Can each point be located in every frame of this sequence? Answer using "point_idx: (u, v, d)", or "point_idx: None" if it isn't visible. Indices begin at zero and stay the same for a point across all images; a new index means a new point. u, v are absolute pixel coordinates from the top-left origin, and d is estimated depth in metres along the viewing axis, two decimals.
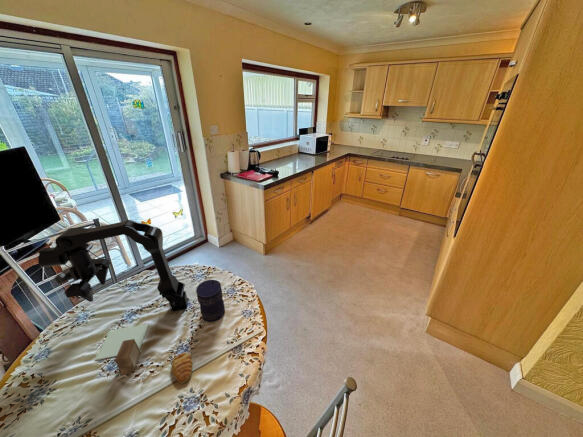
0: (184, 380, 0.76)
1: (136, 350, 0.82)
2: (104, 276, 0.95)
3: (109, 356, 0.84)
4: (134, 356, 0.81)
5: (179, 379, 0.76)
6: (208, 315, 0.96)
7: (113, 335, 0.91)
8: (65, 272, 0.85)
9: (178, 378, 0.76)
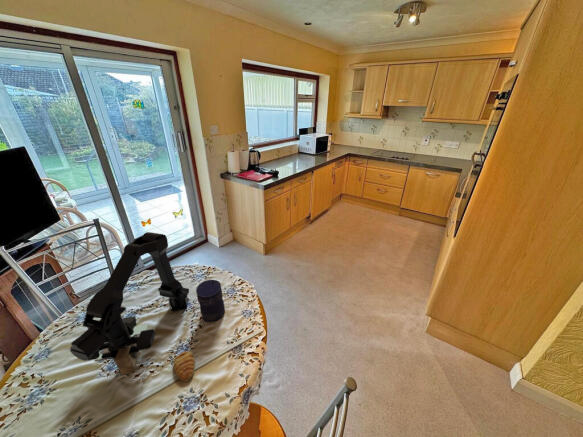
0: (187, 378, 0.77)
1: None
2: None
3: None
4: None
5: (182, 377, 0.77)
6: (208, 315, 0.96)
7: None
8: None
9: (181, 376, 0.77)
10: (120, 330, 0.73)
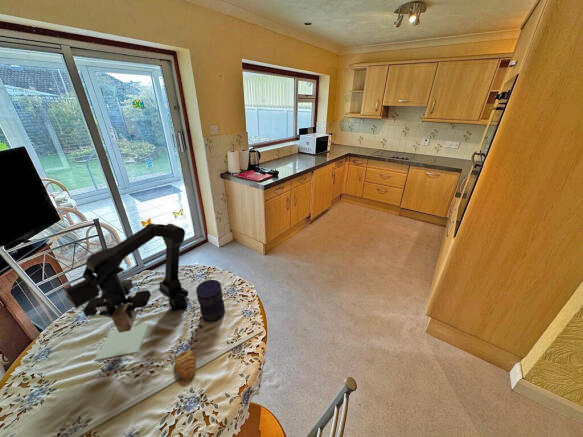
0: (188, 377, 0.77)
1: None
2: None
3: (109, 356, 0.84)
4: None
5: (183, 376, 0.77)
6: (208, 315, 0.96)
7: (113, 335, 0.91)
8: None
9: (182, 375, 0.77)
10: (114, 289, 0.76)
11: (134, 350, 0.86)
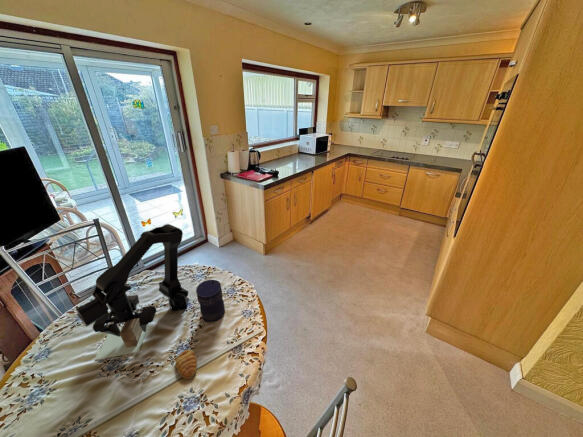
0: (190, 376, 0.78)
1: (139, 326, 0.90)
2: None
3: (109, 356, 0.84)
4: (137, 332, 0.88)
5: (185, 375, 0.77)
6: (208, 315, 0.96)
7: (113, 335, 0.91)
8: None
9: (184, 374, 0.77)
10: (122, 306, 0.80)
11: (134, 350, 0.86)
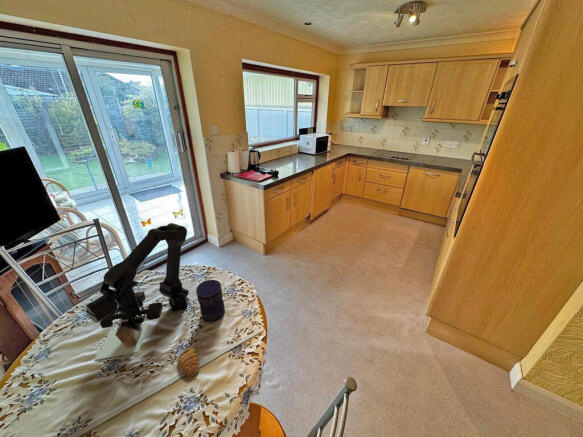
0: (193, 373, 0.78)
1: None
2: None
3: (109, 356, 0.84)
4: (134, 331, 0.88)
5: (188, 373, 0.78)
6: (208, 315, 0.96)
7: (113, 335, 0.91)
8: None
9: (187, 372, 0.78)
10: (130, 302, 0.80)
11: (134, 350, 0.86)
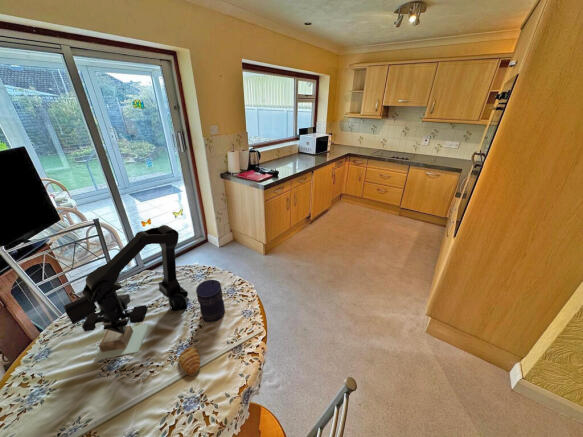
0: (194, 372, 0.79)
1: None
2: None
3: (109, 356, 0.84)
4: (115, 336, 0.87)
5: (189, 372, 0.78)
6: (208, 315, 0.96)
7: None
8: None
9: (188, 371, 0.78)
10: (111, 306, 0.79)
11: (134, 350, 0.86)
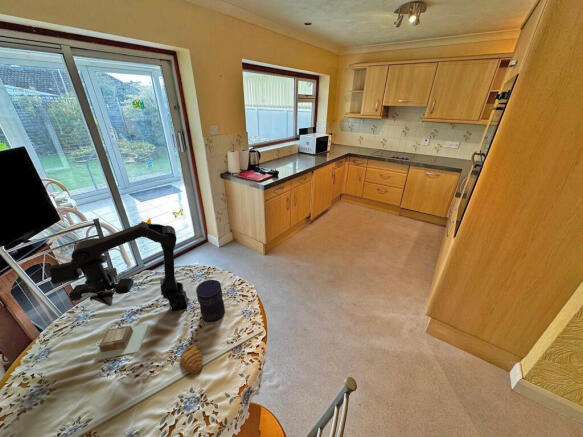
0: (197, 370, 0.79)
1: (117, 331, 0.89)
2: None
3: (109, 356, 0.84)
4: (115, 336, 0.87)
5: (192, 370, 0.79)
6: (208, 315, 0.96)
7: None
8: None
9: (191, 369, 0.79)
10: (92, 277, 0.80)
11: (134, 350, 0.86)
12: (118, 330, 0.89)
